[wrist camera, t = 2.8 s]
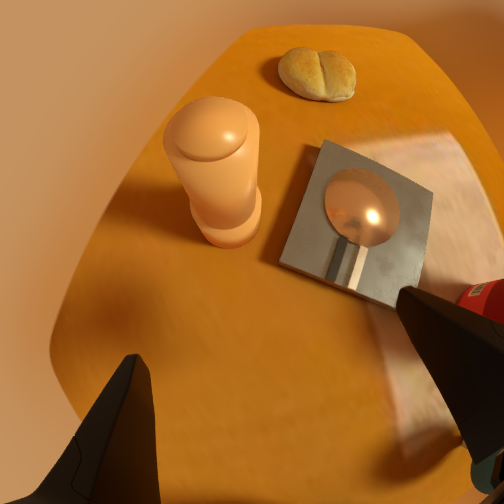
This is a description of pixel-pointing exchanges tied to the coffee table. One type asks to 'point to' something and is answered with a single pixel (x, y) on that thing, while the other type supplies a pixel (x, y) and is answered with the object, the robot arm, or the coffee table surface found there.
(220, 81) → the coffee table surface
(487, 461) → the light bulb
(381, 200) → the plate
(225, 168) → the tapered peach knob
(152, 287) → the coffee table surface
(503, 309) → the canned food
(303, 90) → the bread roll
